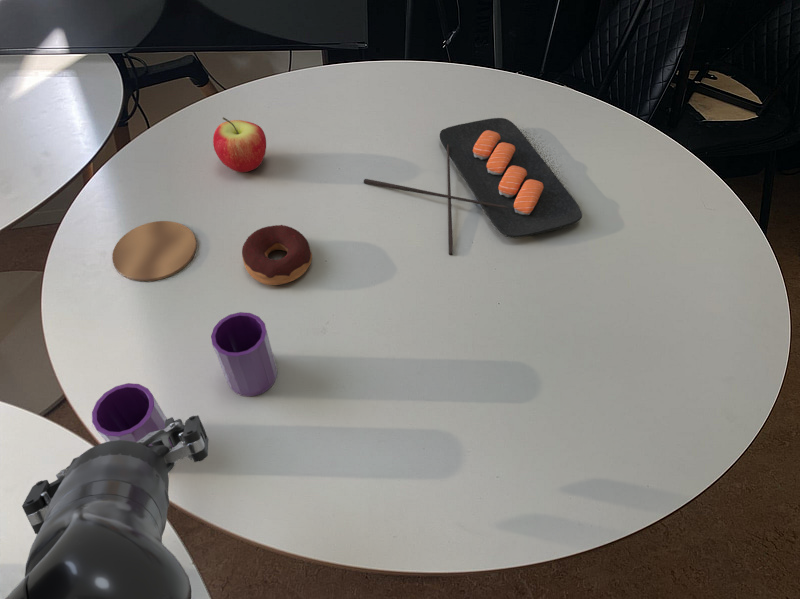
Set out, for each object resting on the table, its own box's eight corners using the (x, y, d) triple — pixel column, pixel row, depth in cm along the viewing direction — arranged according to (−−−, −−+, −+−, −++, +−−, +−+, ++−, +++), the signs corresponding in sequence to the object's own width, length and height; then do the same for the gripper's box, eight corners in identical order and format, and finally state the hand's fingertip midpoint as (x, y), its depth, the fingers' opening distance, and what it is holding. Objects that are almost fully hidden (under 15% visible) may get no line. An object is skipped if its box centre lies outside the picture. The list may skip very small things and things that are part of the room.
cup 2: (231, 402, 74) (215, 362, 67) (224, 361, 77) (207, 319, 70) (281, 388, 75) (270, 347, 68) (272, 349, 79) (260, 306, 72)
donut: (313, 286, 85) (310, 267, 82) (243, 292, 85) (238, 273, 82) (311, 236, 92) (308, 217, 89) (246, 241, 91) (241, 222, 88)
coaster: (114, 289, 85) (113, 287, 84) (112, 232, 92) (110, 230, 91) (201, 270, 87) (200, 268, 87) (192, 216, 94) (191, 213, 94)
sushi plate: (586, 227, 94) (593, 209, 91) (406, 273, 87) (407, 255, 84) (506, 123, 111) (509, 105, 108) (350, 155, 104) (349, 136, 101)
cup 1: (122, 479, 67) (92, 443, 60) (120, 431, 71) (91, 392, 64) (179, 462, 69) (155, 426, 62) (174, 416, 72) (151, 376, 65)
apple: (214, 158, 103) (200, 107, 96) (261, 145, 106) (251, 94, 98) (228, 187, 99) (214, 135, 91) (277, 172, 101) (267, 121, 93)
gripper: (190, 417, 44) (187, 381, 59) (-23, 509, 40) (33, 443, 55) (228, 507, 45) (215, 448, 60) (25, 605, 41) (67, 515, 56)
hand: (128, 446), depth 58 cm, fingers open, 8 cm apart
